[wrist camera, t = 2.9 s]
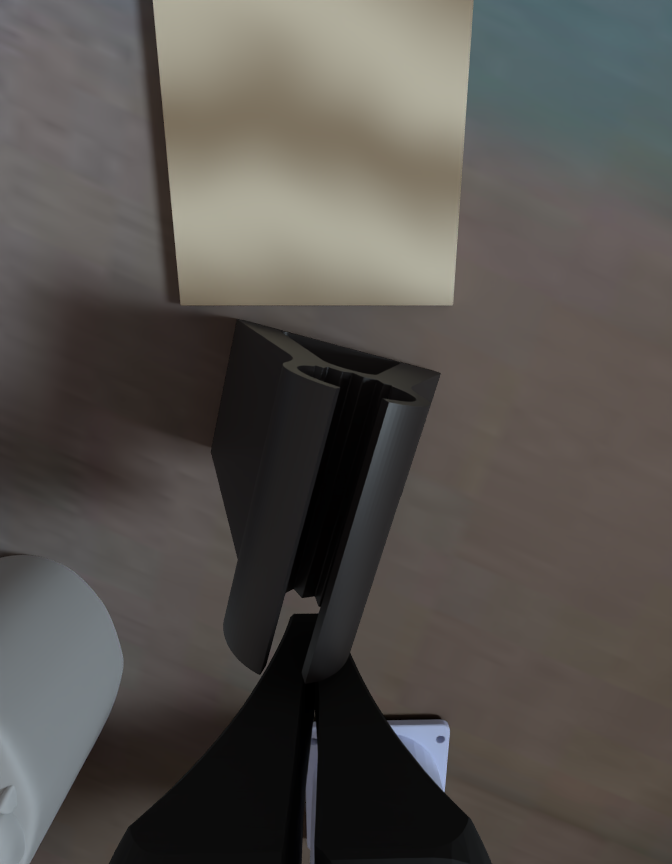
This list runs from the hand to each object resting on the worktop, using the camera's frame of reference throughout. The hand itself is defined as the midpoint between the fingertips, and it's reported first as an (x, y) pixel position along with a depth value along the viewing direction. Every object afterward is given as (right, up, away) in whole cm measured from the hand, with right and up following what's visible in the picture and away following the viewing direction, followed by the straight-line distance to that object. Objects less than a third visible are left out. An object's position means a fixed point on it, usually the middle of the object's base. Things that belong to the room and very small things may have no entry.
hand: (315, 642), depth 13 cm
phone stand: (0, +7, +7) cm, 10 cm away
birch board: (0, +17, +4) cm, 17 cm away
